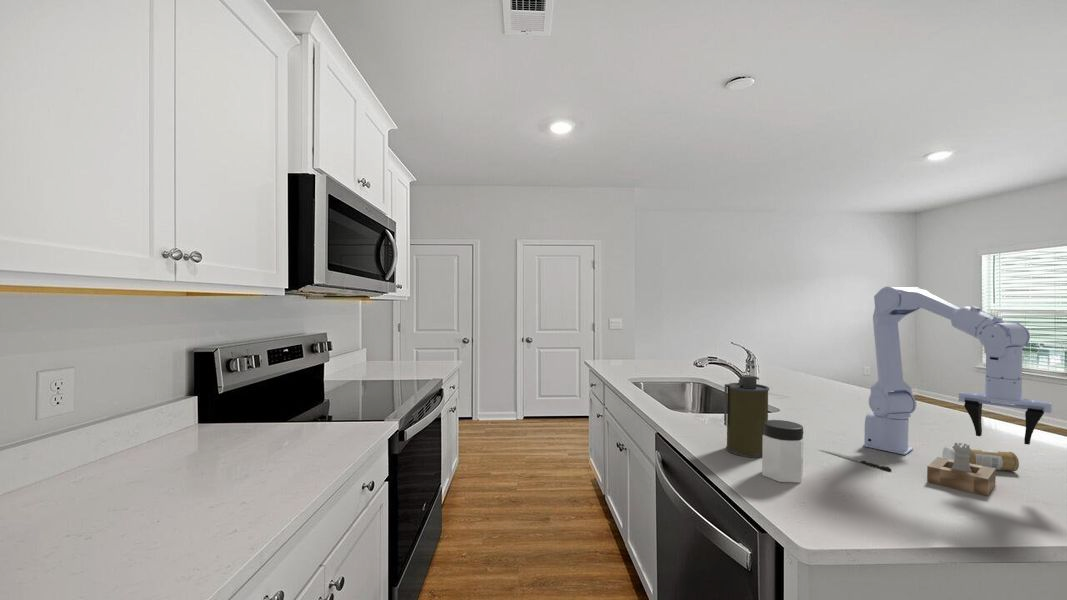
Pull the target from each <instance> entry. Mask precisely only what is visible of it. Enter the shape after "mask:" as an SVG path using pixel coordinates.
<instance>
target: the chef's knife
mask: <svg viewBox="0 0 1067 600" xmlns="http://www.w3.org/2000/svg"><path fill="white" fill-rule="evenodd" d="M818 451H820V452H822V453H823V452H824V453H825V454H829V455H833V456H836V457H839V458H842V459H846V460H850V461H852V462H855V461H856V462H855V463H859V464H862V463H863V465H865V464H866V466H869V465H870V466H869V467H872V466H873V468H875V467H877V469H879V468H880V470H882V469H883V470H882V471H885V470H887V471H886V472H890V471H891V472H892V469H891V468H890V467H889V466H884V465H879V464H875V463H872V462H869V461H867V460H864V459H860V458H857V457H853V456H850V455H845V454H842V453H839V452H834V451H828V450H823V449H818Z"/></svg>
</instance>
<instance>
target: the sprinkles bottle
mask: <svg viewBox="0 0 1067 600" xmlns="http://www.w3.org/2000/svg"><path fill="white" fill-rule="evenodd" d="M952 447H953V446H945V447H944V448H943V449H942V453H941V454H942V458H946V459H951V460H954V458H955V456H954V453H955V450H954V449H953V448H952ZM970 449H971V450H972V451H970V452H969V456H970V458H969V463H971V464H976V465H981V466H986V467H991V468H996V471H997V470H998V471H1010V472H1016V471H1018V469H1019V467H1020V461H1019V458H1018V456H1017V454H1016V453H1014V452H1012V451H1000V450H999V451H996V450H990V449H989V450H987V449H972V448H970Z"/></svg>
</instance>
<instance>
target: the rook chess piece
mask: <svg viewBox="0 0 1067 600" xmlns="http://www.w3.org/2000/svg"><path fill="white" fill-rule="evenodd" d="M951 447H952V448H953V449H954V450H955V453H954V456H955V458H954V464H953V466H952V467H951V469H956V470H960V471H965V472H970V473H972V470H971V469H970V465H969V458H970V456H969V452H970V451H972V450H973V449H972V448H970V444H967V443H963V444H962V442H954V444H953V446H951ZM971 449H972V450H971Z"/></svg>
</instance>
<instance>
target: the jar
mask: <svg viewBox="0 0 1067 600" xmlns="http://www.w3.org/2000/svg"><path fill="white" fill-rule="evenodd" d="M763 433H764V434H763V446H762V457H761V460H762V461H761V462H762V463H761V467H762V468H761V470H762V471H761V472H762V473H761V475H762V476H763V477H766V478H768V479H770V480H773V481H776V482H779V483H793V484H794V483H797V484H798V483H799V484H800V483H801V482H802V479H803V477H804V476H803V474H804V473H803V472H804V426H803V425H801V424H800V423H797V422H795V421H789V420H783V419H782V420H781V419H768V420H767V421H765V422H764V423H763Z"/></svg>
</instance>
